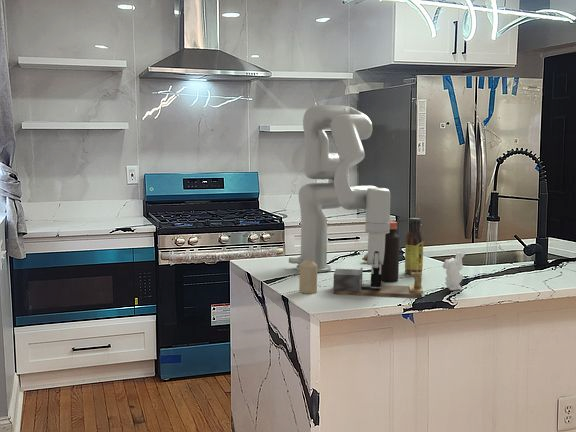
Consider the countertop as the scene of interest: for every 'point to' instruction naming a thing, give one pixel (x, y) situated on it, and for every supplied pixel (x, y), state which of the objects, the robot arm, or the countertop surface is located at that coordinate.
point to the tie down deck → (352, 282)
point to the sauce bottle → (414, 248)
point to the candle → (308, 277)
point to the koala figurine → (454, 272)
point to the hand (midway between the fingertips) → (375, 284)
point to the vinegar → (391, 255)
